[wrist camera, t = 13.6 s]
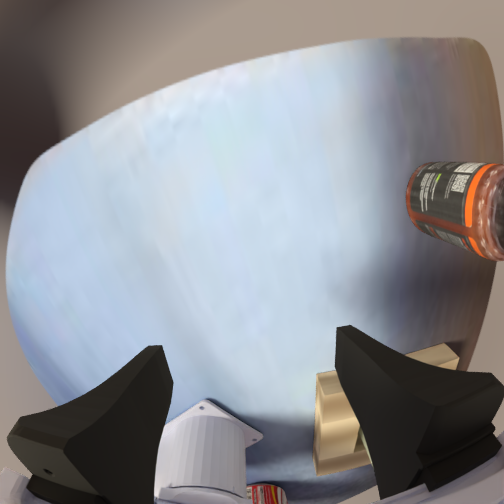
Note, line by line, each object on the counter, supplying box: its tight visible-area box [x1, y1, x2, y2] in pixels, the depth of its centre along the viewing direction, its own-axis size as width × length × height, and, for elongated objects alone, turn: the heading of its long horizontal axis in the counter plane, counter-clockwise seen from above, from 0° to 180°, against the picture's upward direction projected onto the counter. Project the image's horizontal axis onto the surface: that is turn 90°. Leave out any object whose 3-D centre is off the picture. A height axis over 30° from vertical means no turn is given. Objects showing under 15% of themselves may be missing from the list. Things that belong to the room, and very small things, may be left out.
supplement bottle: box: [406, 162, 504, 261], centre depth 15 cm, size 6×6×11 cm
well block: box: [312, 343, 459, 476], centre depth 25 cm, size 14×14×3 cm
